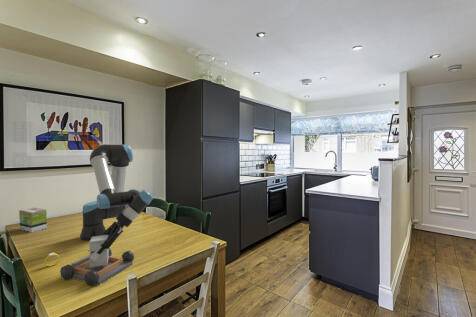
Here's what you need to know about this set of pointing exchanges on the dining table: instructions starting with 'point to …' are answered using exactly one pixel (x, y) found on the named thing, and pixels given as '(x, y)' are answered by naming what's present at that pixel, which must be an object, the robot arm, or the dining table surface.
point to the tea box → (33, 219)
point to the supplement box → (94, 245)
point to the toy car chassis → (97, 269)
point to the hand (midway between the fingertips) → (91, 255)
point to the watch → (50, 256)
